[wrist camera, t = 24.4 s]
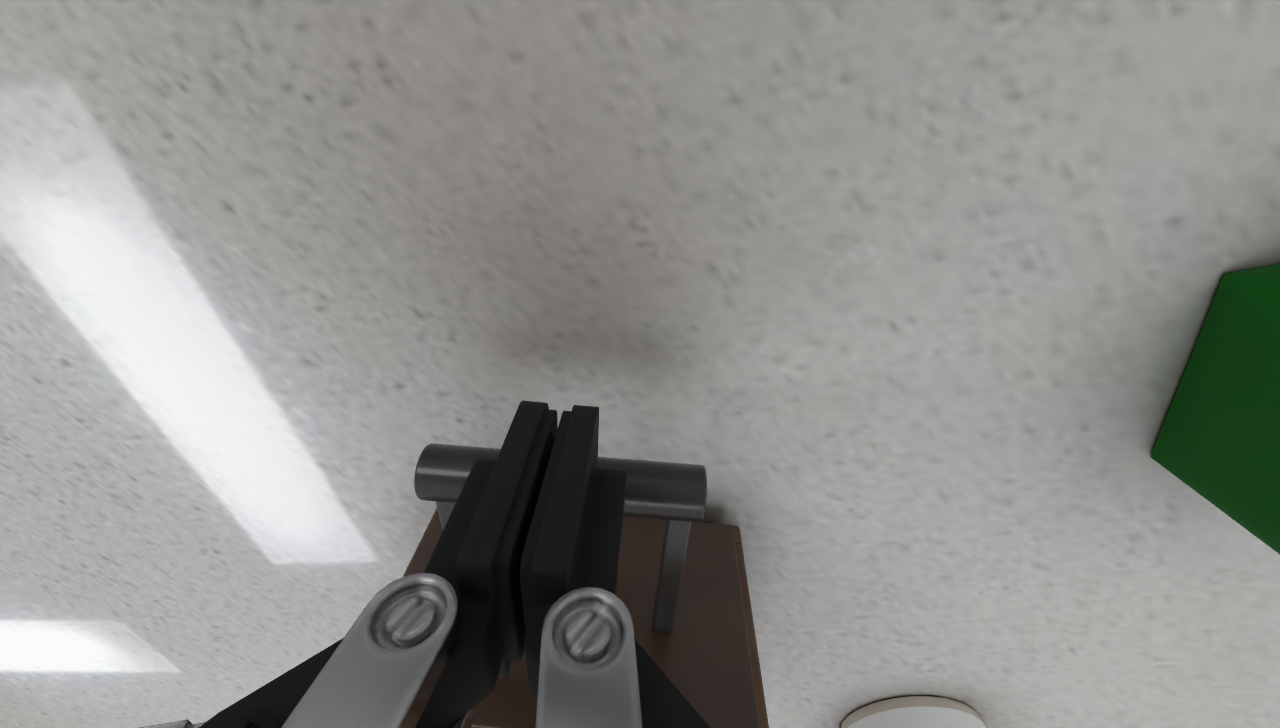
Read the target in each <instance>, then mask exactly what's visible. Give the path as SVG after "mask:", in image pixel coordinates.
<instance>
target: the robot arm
mask: <svg viewBox="0 0 1280 728" xmlns="http://www.w3.org/2000/svg"><path fill="white" fill-rule="evenodd" d="M598 428H599V407H591V406H579V405H574V406H573V408H572V412H571V411H563V413H562V416H561V420H560V423H559V427H558V428H557V411H556V410H549V407H548V404H547V403H542V402H530V401H522V402H521V403H520V405H519V407H518V409H517V412H516V414H515V417H514V419H513V421H512V424H511V426H510V429H509V431H508V434H507V436H506V438H505V441H504V443H503V446H502V448H501V451H500V453H499V455H498V458H497V459H485V458H479V459H477V460H476V462H475V463H474V465H473V467H472V469H471V471H470V473H469V475H468V478H467V480H466V482H465V484H464V486H463V488H462V491H461V493H460V495H459V497H458V499H457V502H456V504H455V506H454V508H453V510H452V512H451V515H450V517H449V519H448V521H447V523H446V525H445V528H444V530H443V532H442V534H441V536H440V538H439V541H438V543H437V545H436V547H435V549H434V551H433V554H432V556H431V558H430V560H429V562H428V564H427V567H426V569H425V571H424V573H417V574H412V575H407V576H404V577H402V578H400V579H397V580H395V581H393V582H391V583H390V584H388V585H387V586H386V587H384V588H383V589H382V590H380V591H379V592H378V593H377V594H376V595H375V596H374V597H373V599H372V600H371V601H370V602H369V603H368V604H367V606H366V607H365V609H364V610H363V612H362V613H361V614H360V616H359V617H358V619H357V620H356V622H355V623H354V624H353V626H352V627H351V629H350V630H349V632H348V633H347V634H346V636H345V637H344V638H343V639H341V640H340V641H338V642H336V643H335V644H333V645H331V646H330V647H328V648H326V649H325V650H323V651H321V652H320V653H318V654H316V655H315V656H313V657H311V658H310V659H308V660H306V661H305V662H303V663H301V664H300V665H298V666H296V667H295V668H293V669H291V670H290V671H288V672H286V673H284V674H283V675H281V676H279V677H278V678H276V679H274V680H273V681H271V682H269V683H268V684H266V685H264V686H263V687H261V688H259V689H258V690H256V691H254V692H253V693H251V694H249V695H248V696H246V697H244V698H243V699H241V700H239V701H238V702H236V703H234V704H233V705H231V706H229V707H228V708H226V709H224V710H223V711H221V712H219V713H218V714H217V715H215V716H214V717H212V718H211V719H210V720H208V721H207V722H204V723H198V724H192V723H191V722H190V721H189V720H182V721H176V722H170V723H164V724H158V725H152V726H146V727H140V728H470V727H471V725H472V722H473V720H474V717H475V715H476V711H477V708H478V704H479V703H480V702H481V701H483V700H484V699H485V698H486V697H488V696H489V695H490V694H491V693H493V692H494V689H495V686H496V682H497V678H498V677H499V678H508V674H509V670H510V666H511V662H512V661H521V660H522V657H523V654H524V650H525V656H526V664H527V673H528V682H529V690H530V695H531V697H532V698H533V700H534V701H535V703H536V705H537V716H536V728H710V726H709V725H708V724H707V723H706V722H705V721H704V719H703V718H702V717H701V716H700V715H699V714H698V712H697V711H696V710H695V709H694V708H693V707H692V705H691V704H690V703H689V702H688V701H687V699H686V698H685V697H684V696H683V695H682V694H681V692H680V691H679V690H678V689H677V688H676V687H675V685H674V684H673V683H672V682H671V681H670V680H669V678H668V677H667V676H666V675H665V674H664V673H663V671H662V670H661V669H660V668H659V667H658V666H657V664H656V663H655V662H654V661H653V660H652V658H651V657H650V656H649V655H648V654H647V653H646V651H645V650H644V649H643V648H642V647H641V646H640V644H639V643H638V642H637V641H636V640H635V639H634V629H633V623H632V619H631V615H630V612H629V611H628V609H627V607H626V606H625V604H624V603H623V601H622V600H620V599H619V598H618V597H617V596H616V591H617V581H618V570H619V560H620V549H621V538H622V528H623V517H624V505H625V493H626V480H627V470H616V469H605V468H597V461H598Z"/></svg>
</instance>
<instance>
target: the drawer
mask: <svg viewBox="0 0 1280 728" xmlns="http://www.w3.org/2000/svg"><path fill="white" fill-rule="evenodd" d="M500 451H501V449H494V448H482V447H470V446H457V445H445V444H429V445H427V446H426V447H425V448H424V450H423V451H422V453H421V455H420V457H419V460H418V463H417V466H416V471H415V482H414V483H415V492H416V495H417V497H418V498H419V499H421V500H427V501H436V504H437V510H436V512H435V514H434V516H433V518H432V520H431V522H430V524H429V526H428V528H427V530H426V532H425V534H424V536H423V538H422V540H421V542H420V544H419V546H418V548H417V550H416V552H415V554H414V556H413V558H412V560H411V562H410V564H409V566H408V568H407V570H406V572H405V574H404V576H407V575H412V574H417V573H424V571H425V569H426V567H427V564H428V562H429V560H430V558H431V556H432V554H433V551H434V549H435V547H436V545H437V543H438V541H439V538H440V536H441V534H442V532H443V530H444V528H445V525H446V523H447V521H448V519H449V517H450V515H451V512H452V510H453V508H454V506H455V504H456V502H457V499H458V497H459V495H460V493H461V491H462V488H463V486H464V484H465V482H466V480H467V478H468V475H469V473H470V471H471V469H472V467H473V465H474V463H475V462H476V460H477V459H479V458H485V459H497V458H498V455H499V453H500ZM597 468H605V469H616V470H627V480H626V493H625V505H624V517H623V528H622V538H621V549H620V560H619V570H618V581H617V591H616V596H617V597H618V598H619V599H620V600H622V601H623V603H624V604H625V606H626V607H627V609H628V611H629V612H630V615H631V619H632V623H633V629H634V639H635V640H636V641H637V642H638V643H639V644H640V646H641V647H642V648H643V649H644V650H645V651H646V653H647V654H648V655H649V656H650V657H651V658H652V660H653V661H654V662H655V663H656V664H657V666H658V667H659V668H660V669H661V670H662V671H663V673H664V674H665V675H666V676H667V677H668V678H669V680H670V681H671V682H672V683H673V684H674V685H675V687H676V688H677V689H678V690H679V691H680V692H681V694H682V695H683V696H684V697H685V698H686V699H687V701H688V702H689V703H690V704H691V705H692V707H693V708H694V709H695V710H696V711H697V712H698V714H699V715H700V716H701V717H702V718H703V719H704V721H705V722H706V723H707V724H708V725H709V726H710V728H759V721H758V713H757V706H756V699H755V691H754V684H753V676H752V669H751V661H750V654H749V646H748V639H747V631H746V624H745V616H744V609H743V601H742V594H741V586H740V579H739V571H738V564H737V557H736V549H735V542H734V534H733V527H732V525H724V524H712V523H700V522H702V520H703V518H704V514H705V507H706V496H707V477H706V470H705V467H704V466H703V465H693V464H680V463H668V462H656V461H643V460H631V459H618V458H606V457H598V461H597ZM404 576H403V577H404ZM536 716H537V705H536V703H535V701H534V700H533V698H532V697H531V695H530V690H529V682H528V673H527V664H526V656H525V650H524V654H523V657H522V660H521V661H512V662H511V666H510V670H509V674H508V678H499V677H498V678H497V682H496V686H495V689H494V692H493V693H491V694H490V695H489V696H488V697H486V698H485V699H484V700H483V701H481V702H480V703H479V704H478V708H477V711H476V715H475V717H474V720H473V722H472V725H471V727H470V728H536Z"/></svg>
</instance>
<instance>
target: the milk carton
mask: <svg viewBox="0 0 1280 728" xmlns="http://www.w3.org/2000/svg"><path fill="white" fill-rule="evenodd" d="M1151 458H1152V459H1154V460H1155V461H1156V462H1158V463H1159V464H1160V465H1162V466H1163V467H1164V468H1166V469H1167V470H1168V471H1170V472H1171V473H1172V474H1174V475H1175V476H1176V477H1178V478H1179V479H1180V480H1182V481H1183V482H1184V483H1186V484H1187V485H1188V486H1190V487H1191V488H1192V489H1194V490H1195V491H1196V492H1198V493H1199V494H1200V495H1202V496H1203V497H1204V498H1206V499H1207V500H1208V501H1210V502H1211V503H1212V504H1214V505H1215V506H1216V507H1218V508H1219V509H1220V510H1221V511H1223V512H1224V513H1225V514H1227V515H1228V516H1229V517H1231V518H1232V519H1233V520H1235V521H1236V522H1237V523H1239V524H1240V525H1241V526H1243V527H1244V528H1245V529H1247V530H1248V531H1249V532H1251V533H1252V534H1253V535H1255V536H1256V537H1257V538H1259V539H1260V540H1261V541H1263V542H1264V543H1265V544H1267V545H1268V546H1269V547H1271V548H1272V549H1273V550H1275V551H1276V552H1277V553H1279V554H1280V264H1276V265H1271V266H1265V267H1260V268H1254V269H1249V270H1243V271H1237V272H1232V273H1226V274H1224V276H1223V279H1222V281H1221V283H1220V286H1219V288H1218V291H1217V293H1216V296H1215V298H1214V301H1213V303H1212V306H1211V308H1210V311H1209V313H1208V315H1207V318H1206V320H1205V323H1204V325H1203V328H1202V330H1201V333H1200V335H1199V338H1198V340H1197V343H1196V345H1195V347H1194V350H1193V352H1192V355H1191V357H1190V360H1189V362H1188V365H1187V367H1186V370H1185V372H1184V375H1183V377H1182V379H1181V382H1180V384H1179V387H1178V389H1177V392H1176V394H1175V397H1174V399H1173V402H1172V404H1171V407H1170V409H1169V411H1168V414H1167V416H1166V419H1165V421H1164V424H1163V426H1162V429H1161V431H1160V434H1159V436H1158V439H1157V441H1156V443H1155V446H1154V448H1153V451H1152V453H1151Z"/></svg>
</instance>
